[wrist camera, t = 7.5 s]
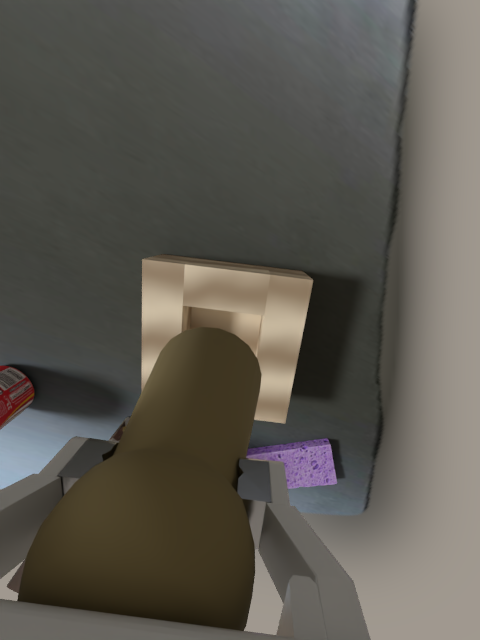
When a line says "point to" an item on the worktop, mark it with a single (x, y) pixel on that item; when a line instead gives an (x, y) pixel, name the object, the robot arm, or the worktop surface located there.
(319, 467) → the sponges
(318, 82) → the worktop surface
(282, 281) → the socket block
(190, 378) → the olive chess pawn
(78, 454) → the robot arm
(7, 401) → the soda can
